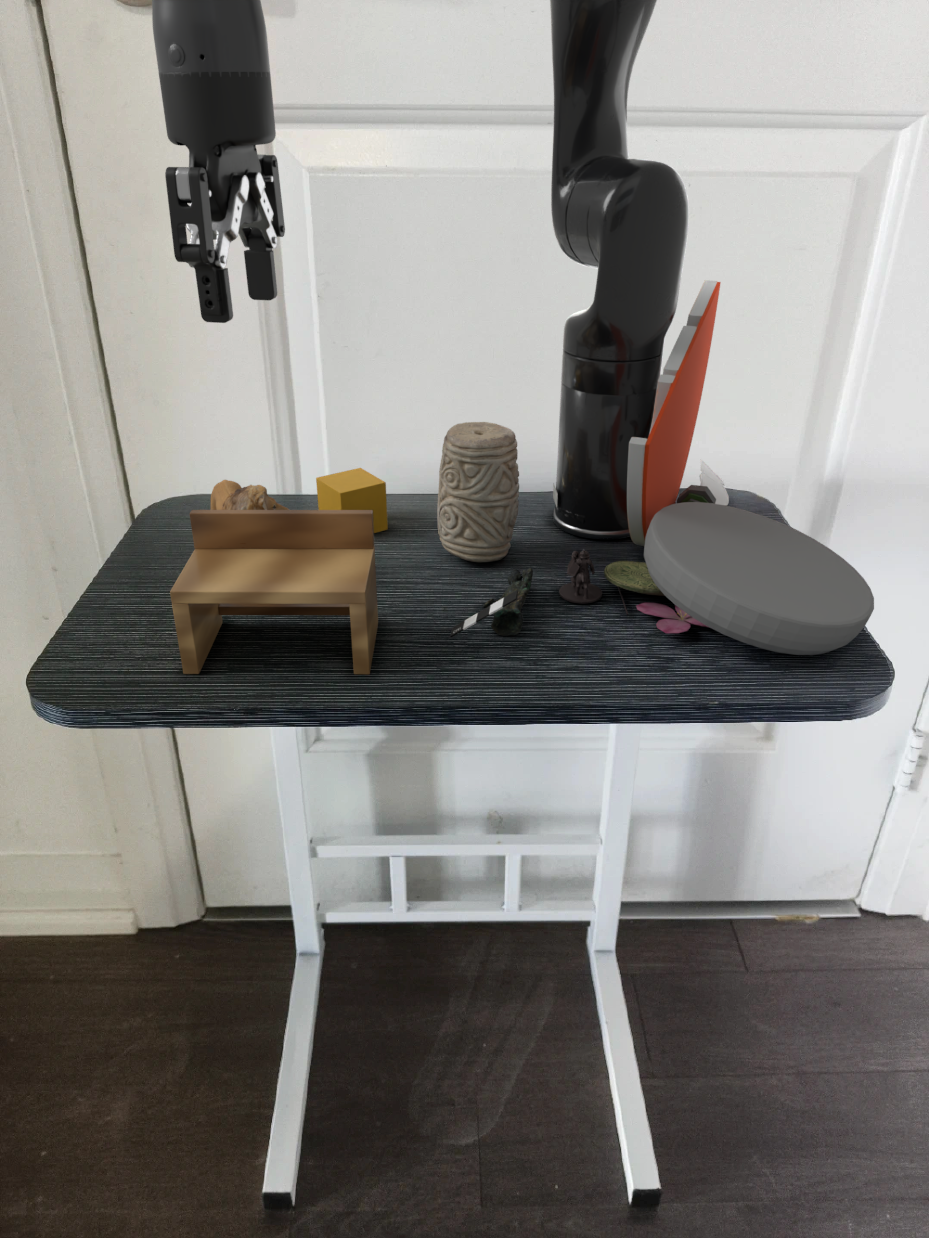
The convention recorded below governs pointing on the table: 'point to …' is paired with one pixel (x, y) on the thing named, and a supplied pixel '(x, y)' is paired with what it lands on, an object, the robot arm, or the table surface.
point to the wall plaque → (671, 419)
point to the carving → (478, 491)
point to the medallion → (632, 577)
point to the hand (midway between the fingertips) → (242, 310)
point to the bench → (277, 574)
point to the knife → (706, 489)
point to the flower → (669, 617)
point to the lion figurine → (242, 497)
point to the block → (354, 494)
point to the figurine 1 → (504, 607)
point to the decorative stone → (756, 578)
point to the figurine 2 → (582, 581)
